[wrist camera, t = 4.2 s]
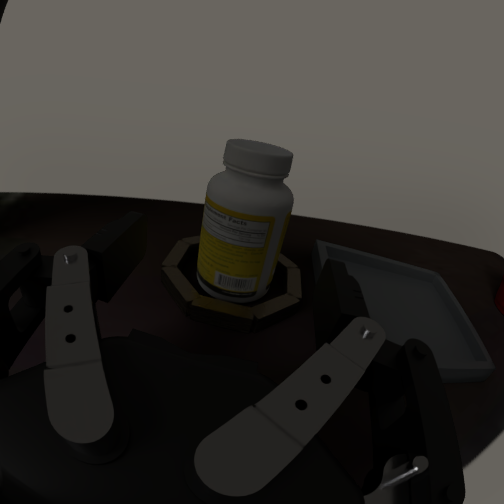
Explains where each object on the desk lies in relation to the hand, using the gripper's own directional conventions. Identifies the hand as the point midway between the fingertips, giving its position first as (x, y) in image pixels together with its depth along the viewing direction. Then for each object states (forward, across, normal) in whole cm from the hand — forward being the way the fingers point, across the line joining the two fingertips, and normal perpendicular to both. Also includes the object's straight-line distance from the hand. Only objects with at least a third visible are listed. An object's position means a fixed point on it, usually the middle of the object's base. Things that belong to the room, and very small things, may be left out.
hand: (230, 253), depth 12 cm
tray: (+6, -14, +6) cm, 17 cm away
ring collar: (+6, 0, +6) cm, 9 cm away
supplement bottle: (+6, 0, +6) cm, 9 cm away
